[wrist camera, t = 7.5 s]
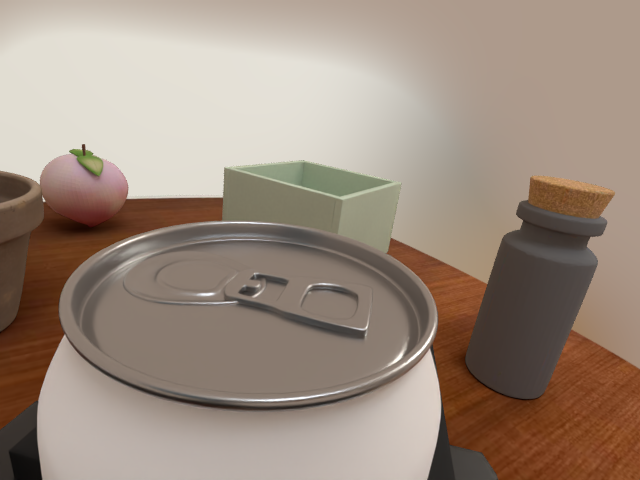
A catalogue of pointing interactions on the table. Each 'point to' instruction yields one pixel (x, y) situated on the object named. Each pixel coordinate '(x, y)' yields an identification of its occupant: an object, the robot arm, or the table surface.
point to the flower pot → (16, 237)
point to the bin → (313, 199)
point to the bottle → (537, 286)
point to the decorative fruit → (84, 187)
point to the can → (241, 360)
